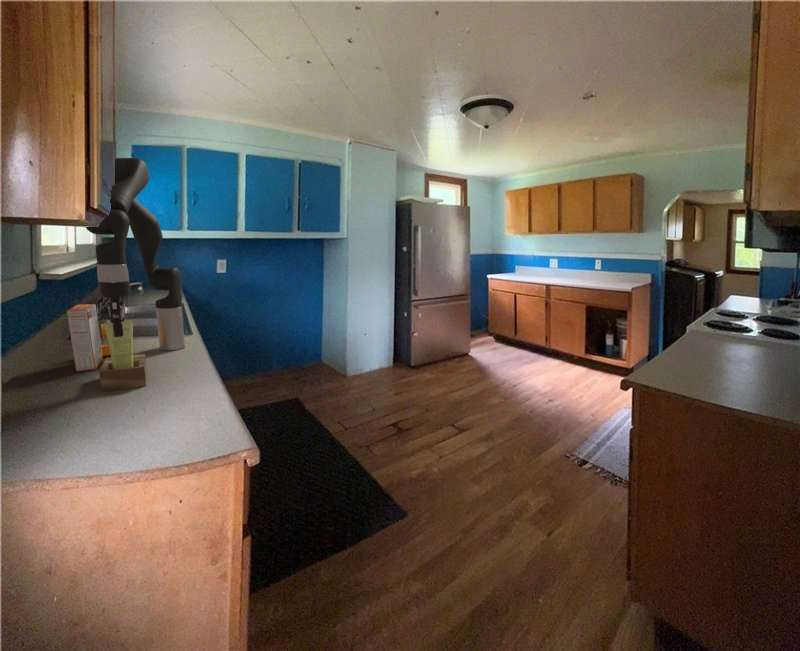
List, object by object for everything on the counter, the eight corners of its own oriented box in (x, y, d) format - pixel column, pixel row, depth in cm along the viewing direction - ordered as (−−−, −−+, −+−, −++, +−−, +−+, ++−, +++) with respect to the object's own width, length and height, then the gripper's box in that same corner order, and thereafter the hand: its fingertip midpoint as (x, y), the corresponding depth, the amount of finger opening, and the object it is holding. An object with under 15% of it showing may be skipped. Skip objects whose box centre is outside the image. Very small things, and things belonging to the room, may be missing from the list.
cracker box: (83, 361, 148) (75, 304, 144) (103, 359, 151) (96, 303, 147) (74, 372, 136) (65, 310, 132) (96, 370, 139) (88, 309, 135)
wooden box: (107, 376, 132) (105, 357, 131) (147, 371, 138) (145, 354, 137) (101, 391, 119) (99, 371, 118) (146, 386, 124) (144, 366, 123)
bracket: (96, 352, 160) (92, 322, 158) (118, 350, 164) (115, 321, 162) (96, 358, 152) (92, 327, 149) (119, 356, 156) (116, 325, 154)
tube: (123, 380, 129) (116, 319, 125) (139, 380, 129) (133, 320, 125) (111, 386, 123) (103, 323, 119) (128, 386, 123) (121, 323, 119)
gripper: (100, 278, 124) (107, 330, 127) (95, 282, 112) (102, 339, 115) (130, 277, 128) (135, 328, 131) (127, 281, 116) (133, 337, 119)
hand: (120, 333), depth 123 cm, fingers open, 8 cm apart
